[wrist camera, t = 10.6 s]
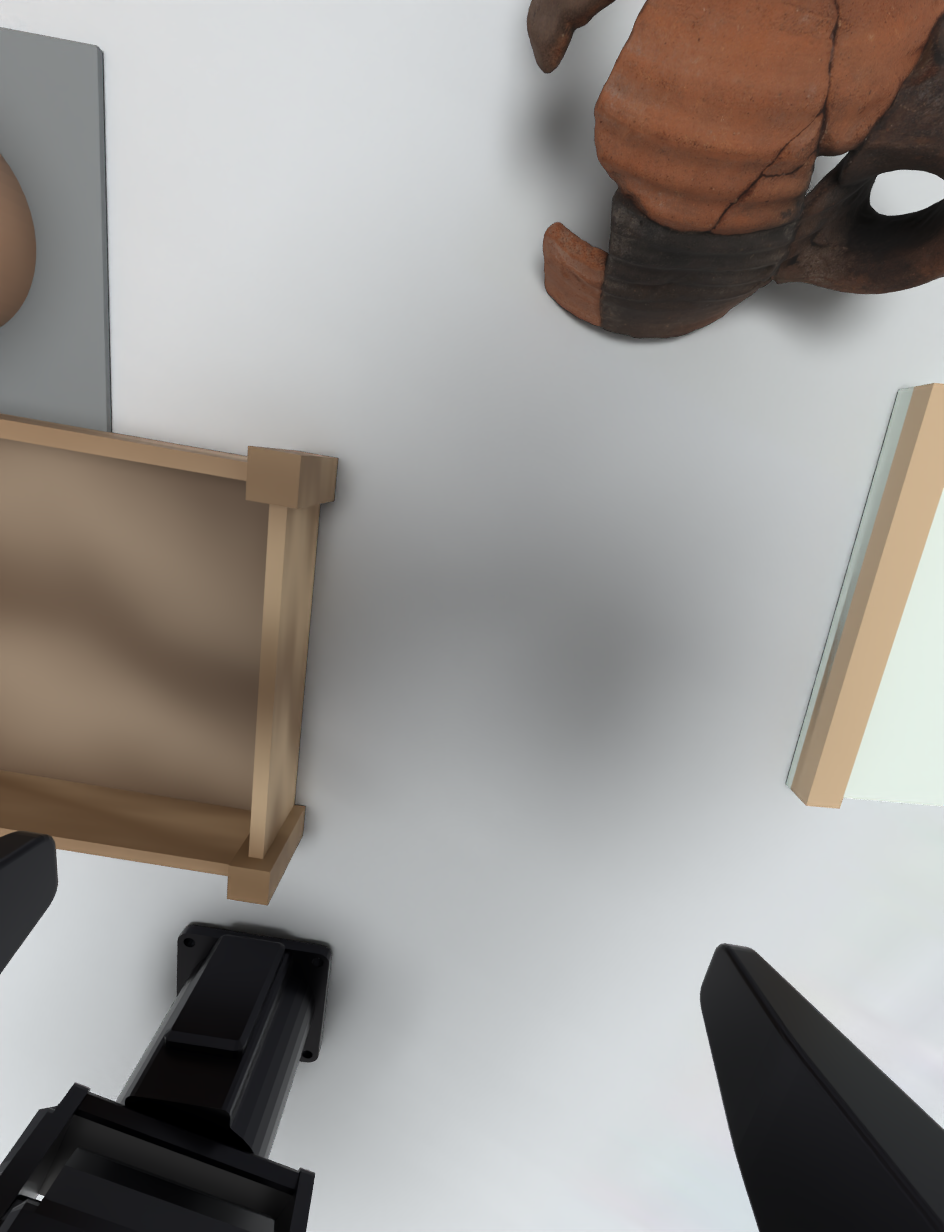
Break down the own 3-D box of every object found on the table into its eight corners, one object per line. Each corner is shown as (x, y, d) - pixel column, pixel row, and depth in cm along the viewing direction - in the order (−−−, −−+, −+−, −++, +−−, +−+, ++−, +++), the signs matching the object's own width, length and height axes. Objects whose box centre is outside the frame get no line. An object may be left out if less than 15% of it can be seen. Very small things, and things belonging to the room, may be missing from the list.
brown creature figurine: (445, 274, 16) (423, -208, 8) (599, 95, 18) (706, -432, 10) (802, 471, 14) (1228, 114, 6) (927, 250, 16) (1369, -231, 8)
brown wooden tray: (302, 835, 21) (267, 905, 18) (-66, 775, 21) (-173, 835, 17) (338, 457, 17) (301, 455, 14) (-121, 377, 17) (-275, 353, 13)
